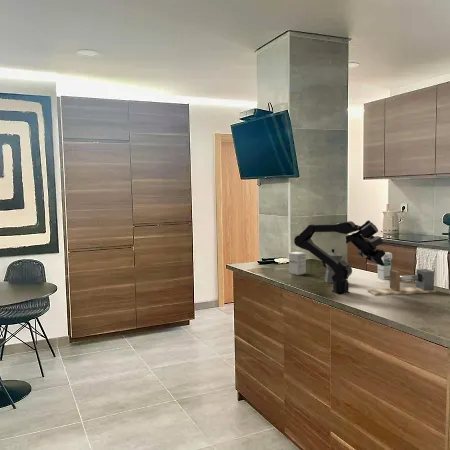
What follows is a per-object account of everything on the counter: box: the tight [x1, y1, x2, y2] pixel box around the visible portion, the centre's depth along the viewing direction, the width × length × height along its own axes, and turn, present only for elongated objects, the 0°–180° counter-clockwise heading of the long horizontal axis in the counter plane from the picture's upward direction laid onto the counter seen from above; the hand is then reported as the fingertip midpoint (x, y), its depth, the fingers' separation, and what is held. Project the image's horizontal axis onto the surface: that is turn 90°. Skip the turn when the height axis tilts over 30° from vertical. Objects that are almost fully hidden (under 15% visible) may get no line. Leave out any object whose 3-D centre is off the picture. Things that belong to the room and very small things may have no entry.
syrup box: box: [377, 251, 393, 280], centre depth 248 cm, size 6×6×14 cm
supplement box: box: [288, 251, 307, 276], centre depth 268 cm, size 7×7×13 cm
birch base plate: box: [367, 286, 436, 296], centre depth 216 cm, size 30×8×1 cm, turn 97°
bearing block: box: [415, 268, 435, 291], centre depth 217 cm, size 5×7×9 cm
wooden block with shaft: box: [389, 269, 418, 291], centre depth 216 cm, size 12×6×9 cm, turn 97°
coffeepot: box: [321, 248, 343, 284], centre depth 243 cm, size 15×9×18 cm, turn 33°
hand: (382, 265), depth 214 cm, fingers closed
